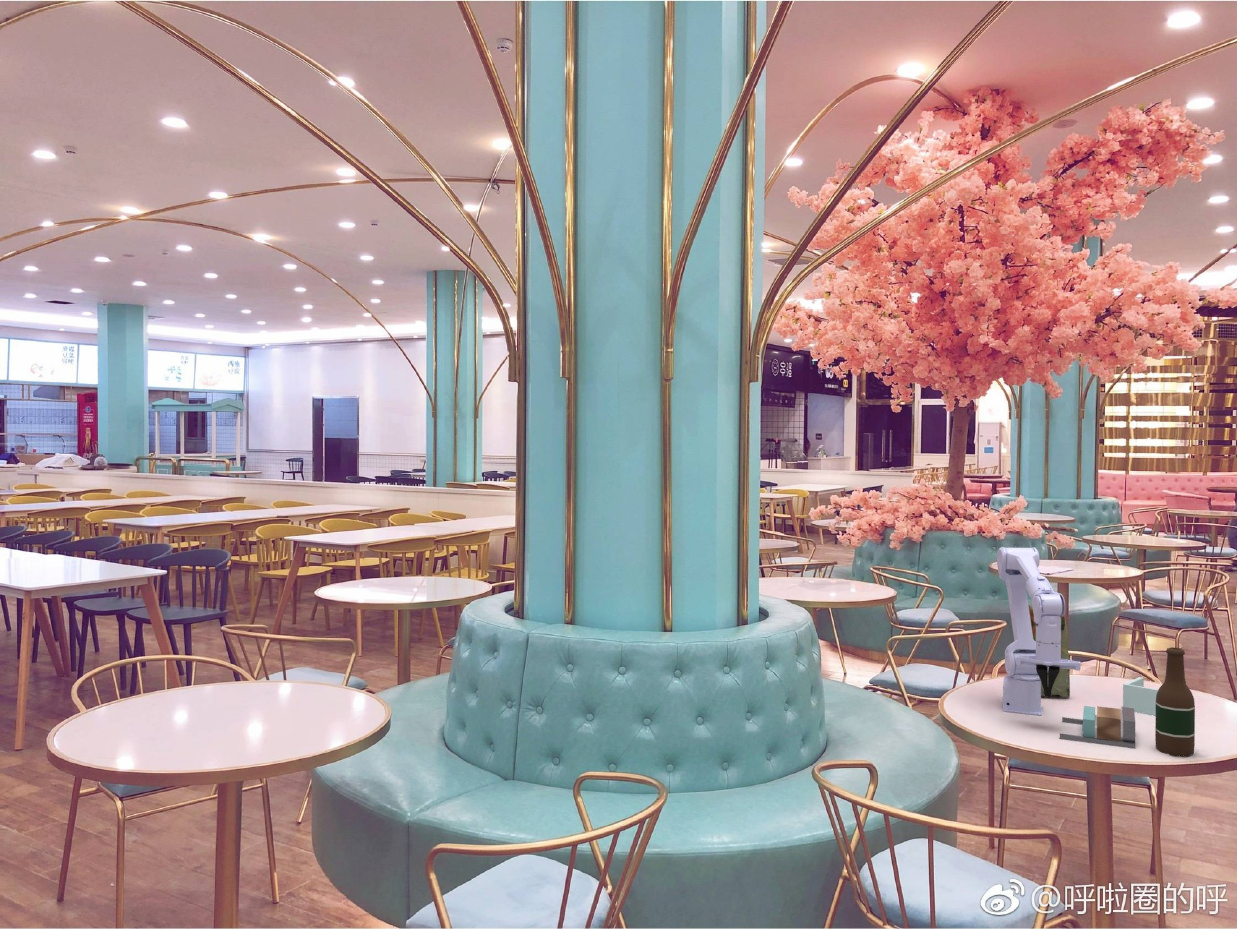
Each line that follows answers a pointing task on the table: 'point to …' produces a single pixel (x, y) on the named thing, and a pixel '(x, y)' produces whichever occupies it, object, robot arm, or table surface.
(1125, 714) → the vise
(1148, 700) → the l-shaped corner panel
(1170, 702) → the beer bottle
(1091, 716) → the block
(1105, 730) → the walnut block
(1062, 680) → the pouch
